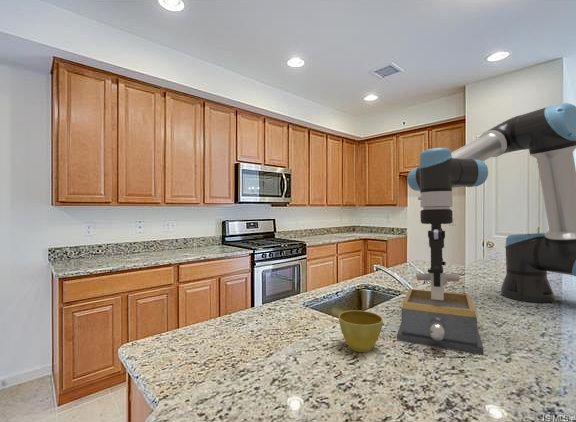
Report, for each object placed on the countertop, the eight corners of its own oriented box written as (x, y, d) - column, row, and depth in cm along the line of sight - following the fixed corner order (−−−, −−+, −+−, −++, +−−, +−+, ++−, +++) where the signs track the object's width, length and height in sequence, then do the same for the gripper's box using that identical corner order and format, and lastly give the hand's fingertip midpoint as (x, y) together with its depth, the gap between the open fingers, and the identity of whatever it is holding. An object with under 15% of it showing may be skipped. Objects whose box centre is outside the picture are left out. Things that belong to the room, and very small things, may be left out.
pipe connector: (466, 303, 73) (465, 261, 73) (421, 301, 75) (420, 261, 75) (452, 292, 82) (451, 255, 83) (413, 291, 84) (412, 255, 85)
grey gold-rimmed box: (475, 326, 82) (475, 293, 82) (485, 362, 63) (484, 319, 63) (405, 317, 91) (404, 287, 91) (394, 346, 71) (394, 308, 71)
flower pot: (391, 347, 71) (390, 316, 71) (369, 362, 64) (368, 328, 64) (354, 335, 78) (353, 307, 78) (330, 348, 71) (329, 317, 71)
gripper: (422, 209, 90) (424, 283, 90) (416, 208, 70) (418, 304, 70) (451, 208, 87) (453, 285, 87) (453, 207, 67) (455, 308, 67)
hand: (437, 293), depth 79 cm, fingers closed on pipe connector, 10 cm apart
